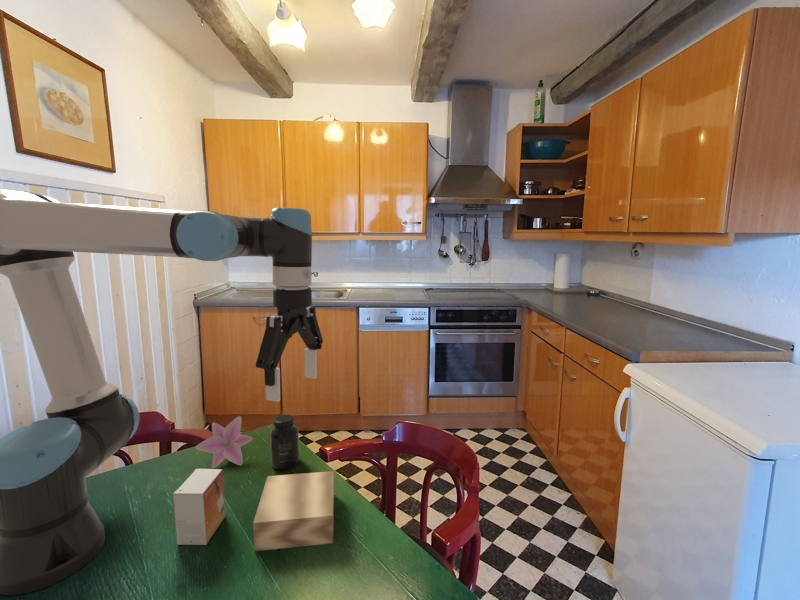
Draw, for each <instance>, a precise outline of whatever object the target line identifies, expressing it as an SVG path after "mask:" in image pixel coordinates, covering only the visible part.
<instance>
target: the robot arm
mask: <svg viewBox="0 0 800 600" xmlns="http://www.w3.org/2000/svg"><path fill="white" fill-rule="evenodd" d="M312 247H313V232H312V216H311V213H310V211H308V210H307V209H303V208H296V207H295V208H293V207H292V208H291V207H274V208H272V210H271V215H270V217H263V218H262V217H249V216H248V217H247V216H236V215H230V214H223V213H220V212H217V211H211V210H199V211H195V210H194V211H192V210H179V209H178V210H177V209H176V210H175V209H162V208H161V209H160V208H149V207H147V208H146V207H136V206H135V207H133V206H119V205H103V204H91V203H90V204H89V203H88V204H86V203H73V202H72V203H70V202H61V201H58V199H55V198H53V197H50V196H46V195H42V194H39V193H36V192H32V191H28V190H27V191H25V190H24V191H20V190H19V191H18V190H9V189H5V188H4V189H3V188H0V274H1V275H3V276H5V277H7V278H8V280H9V282H10V286H11V288H12V291H13V294H14V296H15V299H16V302H17V305H18V307H19V311H20V313H21V316H22V318H23V321H24V325H25V327H26V329H27V332H28V335H29V339H30V341H31V344H32V346H33V348H34V351H35V354H36V357H37V360H38V362H39V365H40V368H41V371H42V374H43V377H44V379H45V381H46V385H47V387H48V390H49V393H50V395H51V396H50V397H51V400H50V402H49V403H48V405H47V406H46V408H45V409H44V411H45V413H46V416H47V418H44V419H40V420H37V421H34V422H33V421H32V423H30V424H27V425H22V426H19V427H17V428H15V429H13V430H11V431H10V432H7V433H6V434H5V435H3V436H2V437H0V595H3V596H16V595H23V594H29V593H33V592H36V591H38V590H41V589H44V588H47V587H50V586H52V585H54V584H56V583H58V582H61V581H63V580H64V579H66V578H68V577H70V576H72V575H73V574H75V573H76V572H77V571H80V569H82V568H84V567H85V566H86V565H87V564H88V563H89V562H91V561H92V560H93V559H94V557H96V556H97V554H98V553H99V552H100V550H101V549H102V547H103V545H104V544H105V540H106V532H105V525H104V523H103V521H102V520H101V519H100V517H98V514H97V513H96V511H95V509H94V508H93V507H92V505H91V504H90V502H89V497H88V489H87V487H88V486H87V477H88V476H90V475H91V474H92V473H93V472H94V471H95V470H97V468H99V467H100V466H102V464H104V463H105V462H106V461H107V460H108V459H109V458H110V457H112V456H113V455H114V454H116V452H119V451H120V450H121V449H123V448H124V446H126V445H127V443H128V442H129V441H130V439H132V438H133V437H134V435H135V433H136V432H137V430H138V427H139V423H140V412H139V409H138V406H137V405H136V403H135V402H134V400H133V399H132V398H129V397H127V395H125V394H124V393H121V392H120V391H119V387H118V385H115V384H113V383H111V382H108V381H107V380H106V378H105V375H104V371H103V368H102V366H101V363H100V360H99V356H98V353H97V351H96V348H95V344H94V342H93V339H92V335H91V333H90V330H89V327H88V323H87V322H86V317H85V315H84V312H83V309H82V306H81V302H80V300H79V297H78V294H77V290H76V287H75V285H74V282H73V279H72V278H73V277H72V276H71V272H70V270H69V268H70V266H71V265H72V263H73V262H74V261H75V260H76V257H75V255H74V253H92V254H110V255H128V256H129V255H131V256H148V257H164V258H165V257H170V258H185V259H195V260H198V261H203V262H218V261H221V260H224V259H230V258H238V257H265V258H266V257H267V258H271V259H272V285H273V286H274V288H273V289H272V303H273V306H274V308H276V309H277V315H267V316H266V323H265V330H264V334H263V337H262V341H261V345H260V347H259V351H258V355H257V358H256V363H255V367H256V368H258V369H261V370H262V369H263V370H264V371H263V372H264V373H263V374H264V385H265V400H266V401H271V402H277V403H279V402H280V401H281V369H280V367H278V365H279V362H280V360H281V358H282V355H283V353H284V350H285V348H286V347H287V343H288V341H289V340H290V339H291V338H292V336H294V335H295V334H296V333H297V334H298V335H299V336H300V338H301V339H302V342H303V343H304V345H305V346H306V347H307V348H304V378H307V379H313V380H315V379H317V378H318V350H322V346H323V343H324V340H323V336H322V335H323V334H322V332H321V330H320V326H319V322H318V319H317V314H316V312H317V310H316V306H312V304H313V302H312V301H313V299H312V297H313V295H312V294H313V290H312V289H311V288H310V286H312V277H313V272H312V264H313V263H312V257H313V256H312V255H313V253H312V252H313V251H312V250H313V248H312Z"/></svg>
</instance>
